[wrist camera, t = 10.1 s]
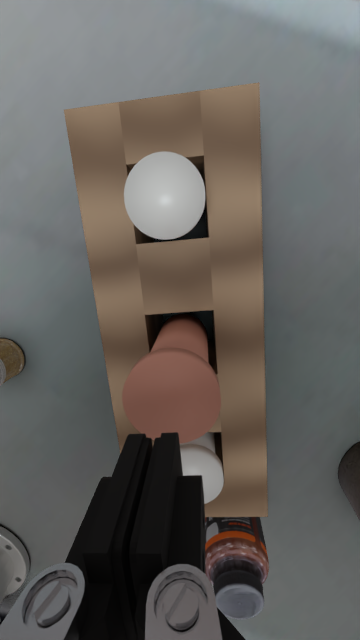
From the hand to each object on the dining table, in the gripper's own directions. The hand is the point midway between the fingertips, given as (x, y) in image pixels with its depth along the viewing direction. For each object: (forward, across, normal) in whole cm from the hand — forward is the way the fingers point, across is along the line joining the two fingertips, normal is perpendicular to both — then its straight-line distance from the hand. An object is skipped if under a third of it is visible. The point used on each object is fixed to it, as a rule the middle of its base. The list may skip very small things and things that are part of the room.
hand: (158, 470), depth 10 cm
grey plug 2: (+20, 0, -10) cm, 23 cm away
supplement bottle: (+21, -3, +21) cm, 30 cm away
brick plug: (+15, 0, 0) cm, 15 cm away
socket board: (+21, 0, 0) cm, 21 cm away
